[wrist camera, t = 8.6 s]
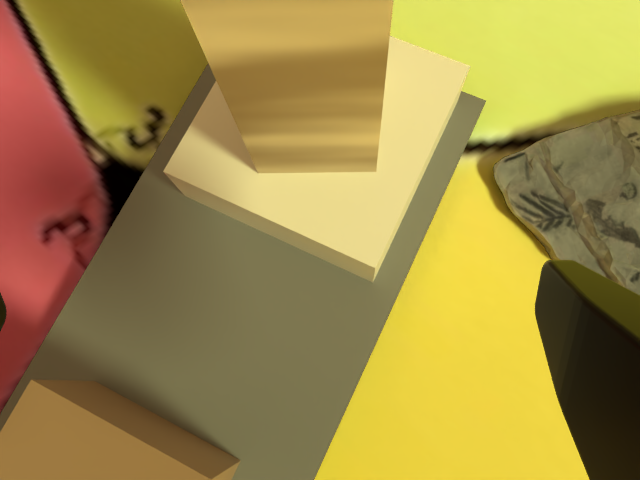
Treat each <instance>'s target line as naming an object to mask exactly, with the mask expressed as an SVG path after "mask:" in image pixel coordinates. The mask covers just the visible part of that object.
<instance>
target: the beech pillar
mask: <svg viewBox="0 0 640 480" xmlns="http://www.w3.org/2000/svg"><path fill="white" fill-rule="evenodd" d="M180 1H181V3H182V6H183V8H184V10H185V12H186V14H187V17H188V19H189V21H190V23H191V26H192V28H193V30H194V32H195V34H196V37H197V39H198V41H199V43H200V46H201V48H202V50H203V52H204V54H205V57H206V59H207V61H208V63H209V65H210V68H211V70H212V72H213V74H214V77H215V79H216V81H217V83H218V85H219V88H220V90H221V92H222V94H223V97H224V99H225V101H226V103H227V105H228V108H229V110H230V112H231V114H232V116H233V119H234V121H235V123H236V125H237V128H238V130H239V132H240V134H241V136H242V139H243V141H244V143H245V145H246V147H247V150H248V152H249V154H250V156H251V159H252V161H253V163H254V165H255V167H256V170H257V172H258V173H325V172H376V169H377V159H378V149H379V139H380V129H381V119H382V109H383V99H384V89H385V79H386V69H387V59H388V49H389V39H390V29H391V19H392V9H393V0H180Z"/></svg>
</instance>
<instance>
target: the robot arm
mask: <svg viewBox="0 0 640 480" xmlns="http://www.w3.org/2000/svg"><path fill="white" fill-rule="evenodd" d="M535 316H536V320H537V324H538V328H539V332H540V336H541V339H542V343H543V347H544V351H545V354H546V358H547V362H548V366H549V369H550V373H551V377H552V381H553V384H554V388H555V391H556V395H557V398H558V401H559V404H560V407H561V409H562V412H563V415H564V417H565V420H566V422H567V425H568V427H569V430H570V432H571V435H572V437H573V440H574V442H575V445H576V447H577V450H578V452H579V454H580V457H581V459H582V462H583V464H584V467H585V469H586V472H587V474H588V477H589V479H590V480H640V295H638V294H636V293H635V292H633V291H631V290H629V289H627V288H625V287H623V286H621V285H619V284H618V283H616V282H614V281H612V280H610V279H608V278H606V277H604V276H602V275H600V274H599V273H597V272H595V271H593V270H591V269H589V268H587V267H585V266H583V265H582V264H580V263H578V262H576V261H574V260H548V261H546V262H545V263H544V265H543V267H542V271H541V276H540V281H539V286H538V292H537V297H536V302H535ZM5 319H6V306H5V303H4V301H3V298H2V296H1V293H0V331H1V329H2V327H3V324H4V322H5Z"/></svg>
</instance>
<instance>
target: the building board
mask: <svg viewBox="0 0 640 480" xmlns="http://www.w3.org/2000/svg"><path fill="white" fill-rule="evenodd" d="M469 68H470V66H469V65H466V64H463V63H461V62H458V61H455V60H453V59H450V58H448V57H445V56H442V55H440V54H437V53H434V52H432V51H429V50H426V49H424V48H421V47H418V46H416V45H413V44H410V43H408V42H405V41H402V40H400V39H397V38H394V37H392V36H390V39H389V49H388V59H387V69H386V79H385V89H384V99H383V109H382V119H381V129H380V139H379V149H378V159H377V169H376V172H325V173H258V172H257V170H256V167H255V165H254V163H253V161H252V159H251V156H250V154H249V152H248V150H247V147H246V145H245V143H244V141H243V139H242V136H241V134H240V132H239V130H238V128H237V125H236V123H235V121H234V119H233V116H232V114H231V112H230V110H229V108H228V105H227V103H226V101H225V99H224V97H223V94H222V92H221V90H220V88H219V85H218V83H217V81H216V79H215V77H214V74H213V72H212V70H211V68H210V65H209V63H208V64H207V66H206V68H205V69H204V71H203V73H202V74H201V76H200V78H199V80H198V81H197V83H196V85H195V86H194V88H193V90H192V91H191V93H190V95H189V96H188V98H187V100H186V101H185V103H184V105H183V107H182V108H181V110H180V112H179V113H178V115H177V117H176V118H175V120H174V122H173V123H172V125H171V127H170V128H169V130H168V132H167V134H166V135H165V137H164V139H163V140H162V142H161V144H160V145H159V147H158V149H157V150H156V152H155V154H154V155H153V157H152V159H151V161H150V162H149V164H148V166H147V167H146V169H145V171H144V172H143V174H142V176H141V177H140V179H139V181H138V182H137V184H136V186H135V188H134V189H133V191H132V193H131V194H130V196H129V198H128V199H127V201H126V203H125V204H124V206H123V208H122V209H121V211H120V213H119V215H118V216H117V218H116V220H115V221H114V223H113V225H112V226H111V228H110V230H109V231H108V233H107V235H106V236H105V238H104V240H103V242H102V243H101V245H100V247H99V248H98V250H97V252H96V253H95V255H94V257H93V258H92V260H91V262H90V263H89V265H88V267H87V269H86V270H85V272H84V274H83V275H82V277H81V279H80V280H79V282H78V284H77V285H76V287H75V289H74V290H73V292H72V294H71V296H70V297H69V299H68V301H67V302H66V304H65V306H64V307H63V309H62V311H61V312H60V314H59V316H58V317H57V319H56V321H55V323H54V324H53V326H52V328H51V329H50V331H49V333H48V334H47V336H46V338H45V339H44V341H43V343H42V344H41V346H40V348H39V350H38V351H37V353H36V355H35V356H34V358H33V360H32V361H31V363H30V365H29V366H28V368H27V370H26V371H25V373H24V375H23V376H22V378H21V380H20V382H19V383H18V385H17V387H16V388H15V390H14V392H13V393H12V395H11V397H10V398H9V400H8V402H7V403H6V405H5V407H4V409H3V410H2V412H1V414H0V480H314V479H315V476H316V474H317V472H318V470H319V468H320V465H321V463H322V461H323V459H324V457H325V454H326V452H327V450H328V448H329V446H330V443H331V441H332V439H333V437H334V435H335V432H336V430H337V428H338V426H339V424H340V421H341V419H342V417H343V415H344V413H345V410H346V408H347V406H348V404H349V402H350V399H351V397H352V395H353V393H354V391H355V388H356V386H357V384H358V382H359V380H360V377H361V375H362V373H363V371H364V369H365V366H366V364H367V362H368V360H369V358H370V355H371V353H372V351H373V349H374V347H375V344H376V342H377V340H378V338H379V336H380V333H381V331H382V329H383V327H384V325H385V322H386V320H387V318H388V316H389V314H390V311H391V309H392V307H393V305H394V303H395V300H396V298H397V296H398V294H399V292H400V289H401V287H402V285H403V283H404V281H405V278H406V276H407V274H408V272H409V270H410V267H411V265H412V263H413V261H414V259H415V256H416V254H417V252H418V250H419V248H420V245H421V243H422V241H423V239H424V237H425V234H426V232H427V230H428V228H429V226H430V223H431V221H432V219H433V217H434V215H435V212H436V210H437V208H438V206H439V204H440V201H441V199H442V197H443V195H444V193H445V190H446V188H447V186H448V184H449V182H450V179H451V177H452V175H453V173H454V171H455V168H456V166H457V164H458V162H459V160H460V157H461V155H462V153H463V151H464V149H465V146H466V144H467V142H468V140H469V138H470V135H471V133H472V131H473V129H474V127H475V124H476V122H477V120H478V118H479V115H480V113H481V111H482V109H483V107H484V104H485V102H486V100H483V99H480V98H478V97H475V96H473V95H470V94H467V93H465V92H462V88H463V85H464V82H465V79H466V77H467V74H468V71H469Z"/></svg>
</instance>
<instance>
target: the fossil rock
mask: <svg viewBox="0 0 640 480" xmlns="http://www.w3.org/2000/svg"><path fill="white" fill-rule="evenodd" d="M493 170H494V177H495V181H496V183H497V185H498V186H499V188H500V190H501V192H502V193H503V195H504V198H505V201H506V204H507V206H508V207H509V208H510V210H511V211H512V213H513V214H514V215H515V216H516V217H517V218H518V219H519V220H520V221H521V222H522V223H523V224H524V225H525V226H526V227H527V228H528V229H529V230H530V231H531V232H532V233H533V234H534V235H535V236H536V238H537V239H538V240H539V241H540V242H541V244H542V245H543V246H544V247H545V249H546V250H547V252H548V254H549V255H550V257H551V259H552V260H574V261H576V262H578V263H580V264H582V265H583V266H585V267H587V268H589V269H591V270H593V271H595V272H597V273H599V274H600V275H602V276H604V277H606V278H608V279H610V280H612V281H614V282H616V283H618V284H619V285H621V286H623V287H625V288H627V289H629V290H631V291H633V292H635V293H636V294H638V295H640V110H637V111H633V112H629V113H625V114H620V115H616V116H611V117H606V118H603V119H601V120H599V121H596V122H592V123H589V124H587V125H584V126H580V127H577V128H574V129H570V130H567V131H564V132H561V133H558V134H555V135H552V136H549V137H546V138H544V139H542V140H540V141H537V142H536V143H534V144H532V145H531V146H529V147H528V148H526V149H524V150H522V151H520V152H517V153H514V154H511V155H508V156H506V157H504V158H502V159H501V160H500V161H498V162H497V163H496V164H495V165H494V167H493Z"/></svg>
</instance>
